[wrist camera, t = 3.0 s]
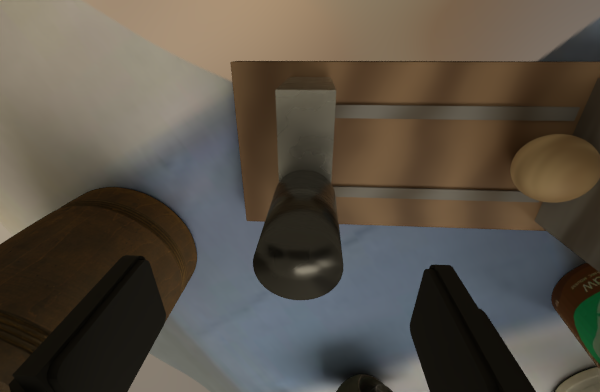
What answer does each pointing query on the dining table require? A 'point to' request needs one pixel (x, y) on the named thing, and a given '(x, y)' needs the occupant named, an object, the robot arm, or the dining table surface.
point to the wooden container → (84, 263)
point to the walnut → (556, 168)
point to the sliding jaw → (302, 196)
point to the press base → (431, 141)
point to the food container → (581, 307)
